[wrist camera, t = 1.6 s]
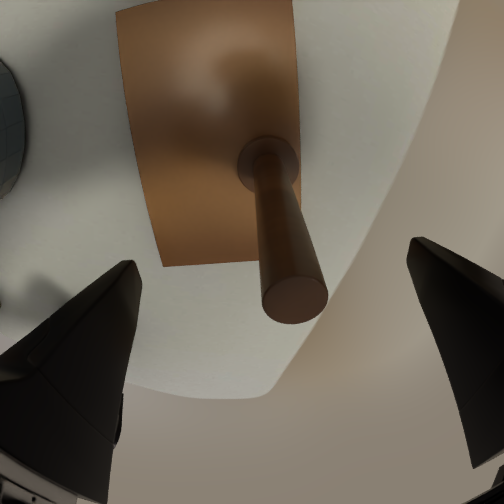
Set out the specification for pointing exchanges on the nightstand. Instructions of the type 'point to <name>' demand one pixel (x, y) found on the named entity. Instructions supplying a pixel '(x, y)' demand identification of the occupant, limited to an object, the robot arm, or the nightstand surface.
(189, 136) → the copper rest
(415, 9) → the nightstand surface
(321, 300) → the stirring stick
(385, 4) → the nightstand surface
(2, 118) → the bowl
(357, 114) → the nightstand surface
